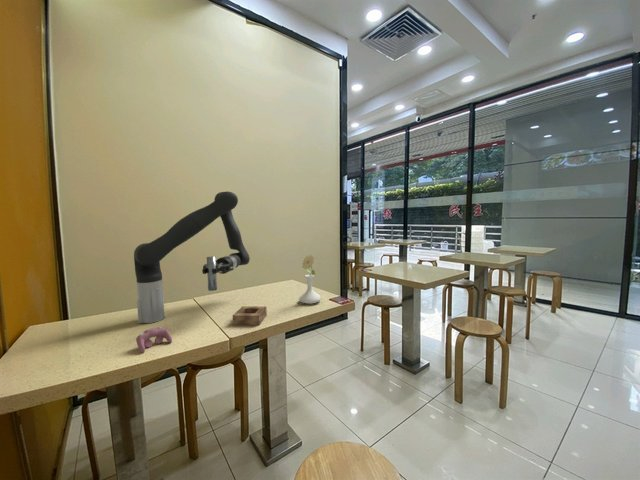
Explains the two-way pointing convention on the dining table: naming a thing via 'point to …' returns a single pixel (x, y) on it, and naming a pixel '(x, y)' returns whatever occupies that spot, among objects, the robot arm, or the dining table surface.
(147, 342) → the pink curved piece
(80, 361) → the dining table surface
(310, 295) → the flower in vase
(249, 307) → the square wooden ashtray
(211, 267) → the metal rod
